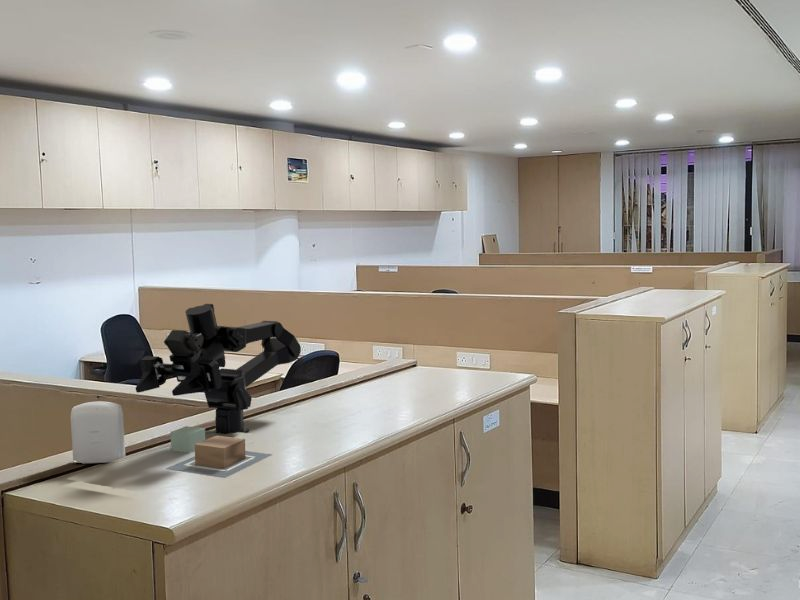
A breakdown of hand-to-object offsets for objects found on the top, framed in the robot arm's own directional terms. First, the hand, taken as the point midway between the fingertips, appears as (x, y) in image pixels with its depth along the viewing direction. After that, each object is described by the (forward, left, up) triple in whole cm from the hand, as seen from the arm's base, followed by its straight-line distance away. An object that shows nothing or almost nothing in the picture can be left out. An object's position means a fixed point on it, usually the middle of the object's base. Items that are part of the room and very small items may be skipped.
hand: (154, 391), depth 155 cm
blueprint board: (-4, +13, -15) cm, 20 cm away
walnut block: (-4, +13, -14) cm, 19 cm away
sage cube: (-9, +1, -15) cm, 17 cm away
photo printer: (+3, -12, -15) cm, 20 cm away
